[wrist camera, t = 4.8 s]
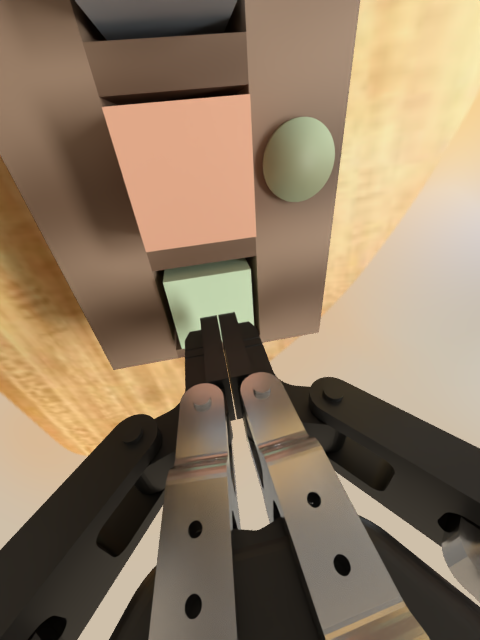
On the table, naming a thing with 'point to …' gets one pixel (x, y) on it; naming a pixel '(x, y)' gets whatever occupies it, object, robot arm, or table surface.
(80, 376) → the table surface
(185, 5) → the slate button
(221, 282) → the sage button
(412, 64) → the table surface
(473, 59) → the table surface
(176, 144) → the terracotta button
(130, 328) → the console
